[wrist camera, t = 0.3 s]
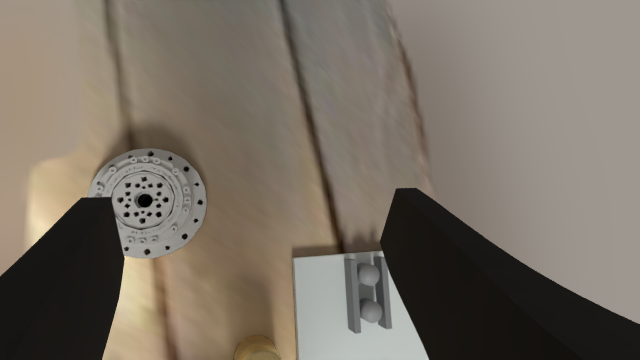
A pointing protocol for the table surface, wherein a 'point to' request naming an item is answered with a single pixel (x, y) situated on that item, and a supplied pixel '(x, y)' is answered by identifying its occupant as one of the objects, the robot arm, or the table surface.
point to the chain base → (351, 310)
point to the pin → (256, 349)
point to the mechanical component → (177, 213)
